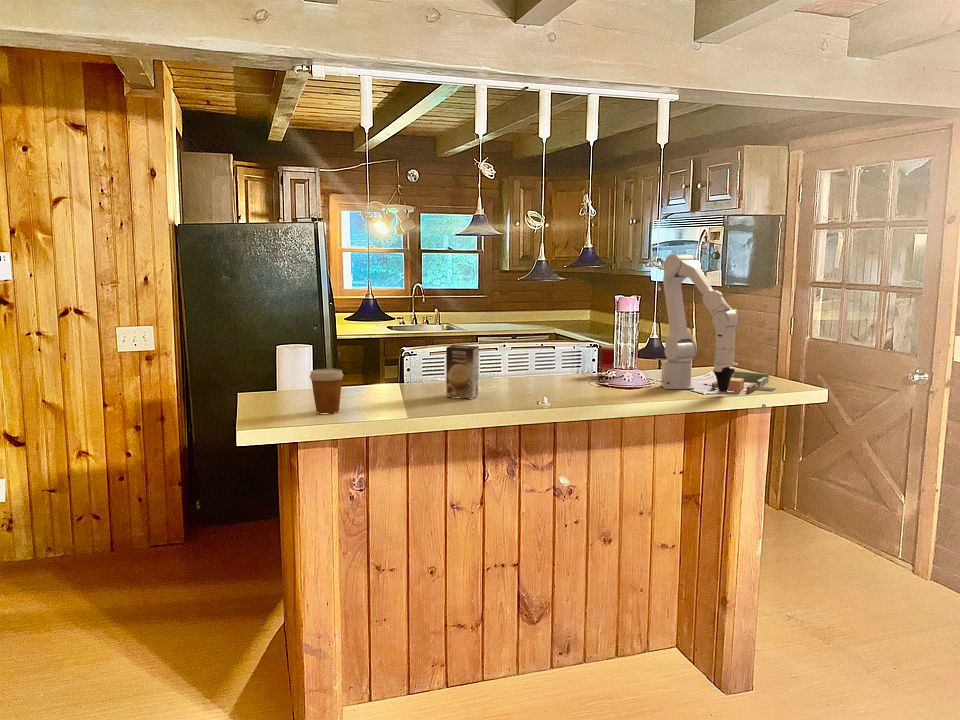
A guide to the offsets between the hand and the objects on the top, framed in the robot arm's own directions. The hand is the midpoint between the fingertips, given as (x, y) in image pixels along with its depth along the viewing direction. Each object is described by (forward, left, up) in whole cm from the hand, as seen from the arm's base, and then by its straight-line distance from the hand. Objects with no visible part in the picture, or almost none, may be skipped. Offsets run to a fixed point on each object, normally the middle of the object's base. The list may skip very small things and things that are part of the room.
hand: (723, 391), depth 240 cm
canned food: (-31, +36, -2) cm, 47 cm away
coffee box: (-82, -5, -2) cm, 82 cm away
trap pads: (+9, +16, -1) cm, 19 cm away
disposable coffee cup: (-118, -29, -2) cm, 122 cm away
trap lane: (+10, +18, -1) cm, 21 cm away
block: (+5, +9, -2) cm, 11 cm away
